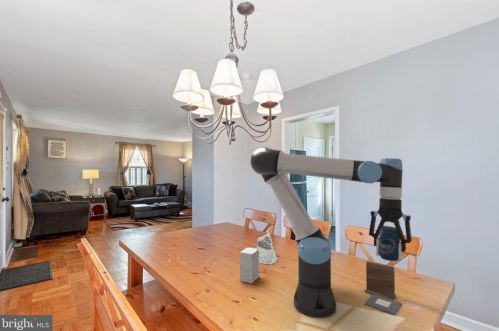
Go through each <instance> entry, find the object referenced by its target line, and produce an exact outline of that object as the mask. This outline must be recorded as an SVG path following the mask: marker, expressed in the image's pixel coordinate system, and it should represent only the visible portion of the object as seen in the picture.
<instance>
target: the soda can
mask: <svg viewBox="0 0 499 331" xmlns="http://www.w3.org/2000/svg"><path fill="white" fill-rule="evenodd" d="M378 238H379V257H380V258H381V259H382V260H384V261H388V262H397V261H398V257H399V243H400V242H401V240H400V238H399V234H398V232H397V229H396V227H395V226H390V225H384V226H383V227H382V228H381V230H380V234H379V237H378Z"/></svg>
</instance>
